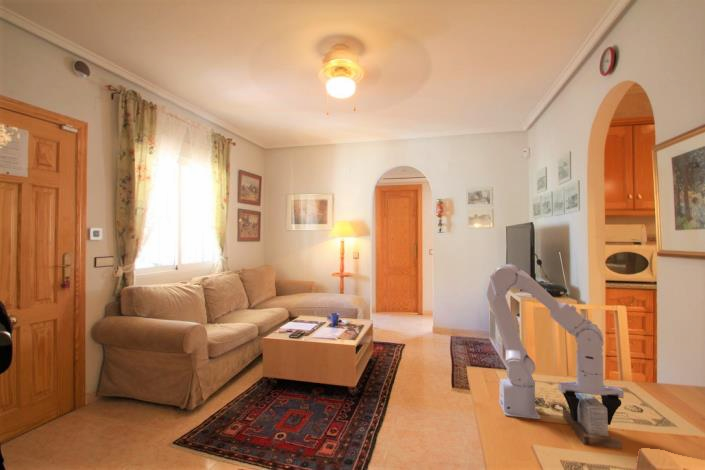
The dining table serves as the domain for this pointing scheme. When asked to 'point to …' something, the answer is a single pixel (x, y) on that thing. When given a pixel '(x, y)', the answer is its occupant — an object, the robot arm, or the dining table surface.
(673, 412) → the dining table surface
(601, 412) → the medicine box
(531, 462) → the dining table surface
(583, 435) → the walnut u-shaped bracket
